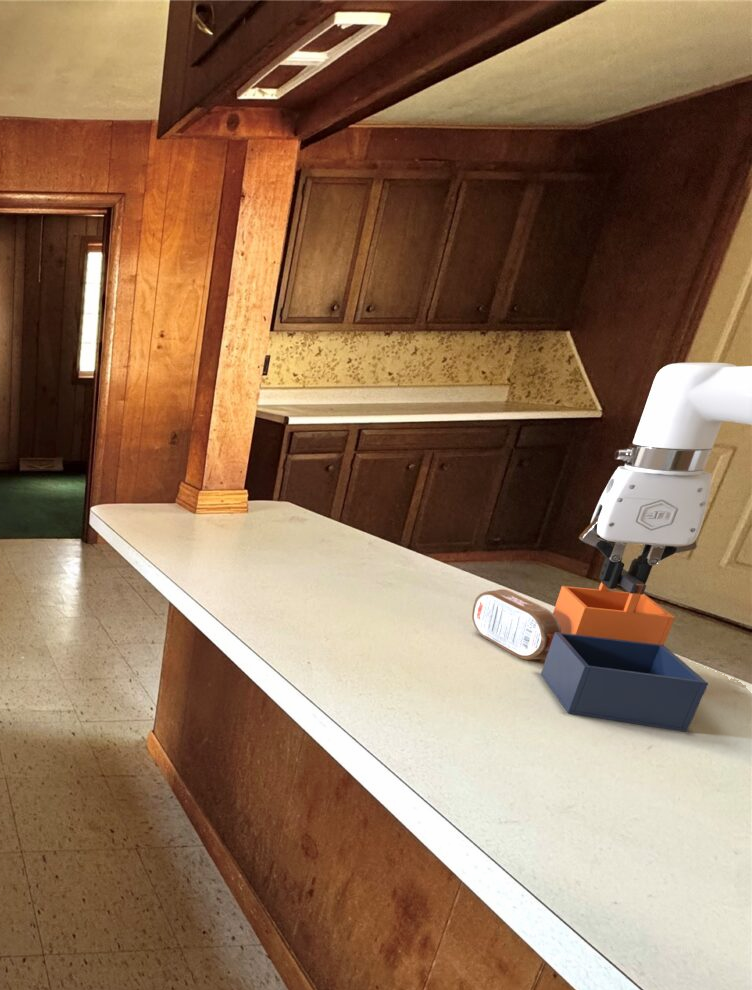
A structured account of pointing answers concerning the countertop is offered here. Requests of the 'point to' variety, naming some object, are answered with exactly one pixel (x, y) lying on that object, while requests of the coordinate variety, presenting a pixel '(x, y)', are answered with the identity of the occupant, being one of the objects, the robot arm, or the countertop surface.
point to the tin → (515, 623)
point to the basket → (613, 612)
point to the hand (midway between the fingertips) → (619, 586)
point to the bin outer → (622, 681)
